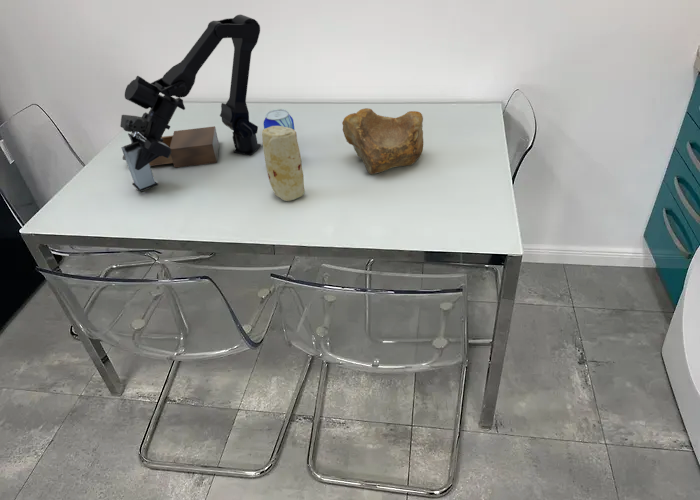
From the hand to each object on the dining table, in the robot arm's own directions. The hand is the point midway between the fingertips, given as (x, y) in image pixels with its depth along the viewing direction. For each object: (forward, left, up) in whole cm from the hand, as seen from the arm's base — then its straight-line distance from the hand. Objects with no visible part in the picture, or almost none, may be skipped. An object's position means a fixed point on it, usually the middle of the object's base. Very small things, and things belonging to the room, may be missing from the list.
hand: (133, 166), depth 155 cm
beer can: (-33, -25, -8) cm, 42 cm away
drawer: (+8, -16, -7) cm, 19 cm away
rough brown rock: (-61, -33, -8) cm, 70 cm away
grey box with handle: (-1, -1, -7) cm, 7 cm away
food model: (-42, -10, -8) cm, 44 cm away
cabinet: (-3, -22, -8) cm, 24 cm away
